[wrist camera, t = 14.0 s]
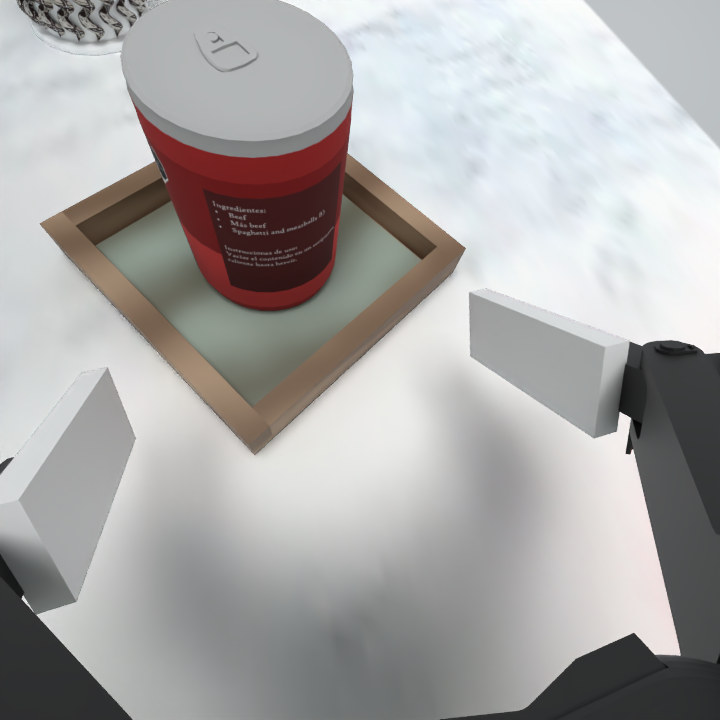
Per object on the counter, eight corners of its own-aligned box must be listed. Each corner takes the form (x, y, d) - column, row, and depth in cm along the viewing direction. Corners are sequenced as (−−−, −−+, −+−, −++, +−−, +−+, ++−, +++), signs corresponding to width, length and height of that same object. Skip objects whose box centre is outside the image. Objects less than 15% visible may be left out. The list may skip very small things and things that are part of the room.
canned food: (250, 183, 26) (216, -38, 16) (360, 245, 25) (396, 52, 15) (165, 267, 23) (59, 60, 13) (287, 340, 22) (272, 178, 12)
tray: (64, 252, 24) (39, 223, 22) (278, 129, 30) (276, 96, 27) (254, 454, 21) (249, 444, 18) (452, 272, 26) (465, 248, 24)
